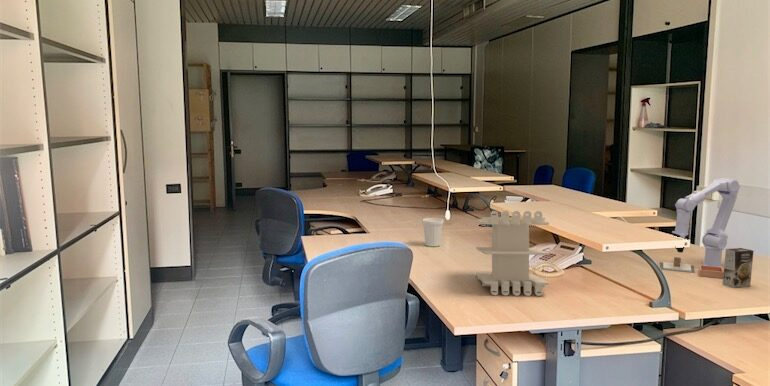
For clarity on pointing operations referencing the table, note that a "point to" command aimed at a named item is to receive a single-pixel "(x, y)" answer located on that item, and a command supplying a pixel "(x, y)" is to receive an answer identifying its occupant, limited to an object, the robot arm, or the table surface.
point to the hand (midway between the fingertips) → (679, 250)
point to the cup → (432, 231)
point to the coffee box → (738, 267)
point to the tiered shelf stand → (512, 253)
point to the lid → (677, 265)
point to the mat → (677, 270)
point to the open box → (710, 271)
